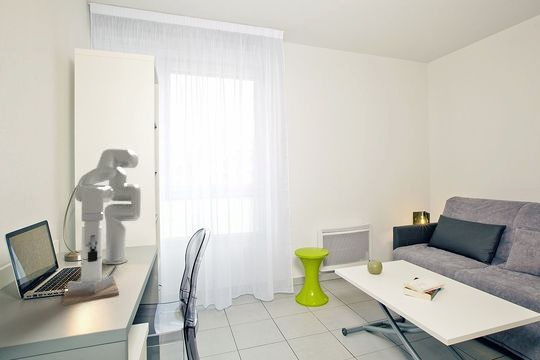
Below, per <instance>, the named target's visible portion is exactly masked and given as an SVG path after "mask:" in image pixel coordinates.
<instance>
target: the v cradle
mask: <svg viewBox="0 0 540 360" xmlns="http://www.w3.org/2000/svg"><path fill="white" fill-rule="evenodd" d="M65 286H67V287H68V291H66V292H64V291H63V306H67V305H71V304H72V305H73V304H78V303H83V302H90V301H92V300H93V301H94V300H99V299H104V298H109V297H115V296H119V295H120V291H119V288H118V286H117V284H116V280H115V278H114V275H113V274H110V275H107V276H105V277H103V278H102V277H101V280H99V281H96V282H94V283H84V282H81V281H76V280H75V281H72V280H70V281H68V282H67V283H65V284H64V287H65Z"/></svg>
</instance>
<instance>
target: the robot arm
mask: <svg viewBox="0 0 540 360" xmlns="http://www.w3.org/2000/svg"><path fill="white" fill-rule="evenodd" d="M100 155H101V156H100V158H99V160H98V163H97V166H96V168H93V169H92V170H89V171H87V172H86V173H85V174H83V175H82V176H81V177H80V178H79V180H78V182H77V184H76V187H75V190H74V197H75V200H76V201H77V202H79V203H81V222H84V225H83V227H84V229H85V230H84V246H85V247H86V246H87V245H89V252H88V262H94V261H97V245H98V244H99V228H100V226H101V225H100V223H101V221H103V220H104V218H105V258H103V259H102V264H103V265H107V264H115V265H120V264H124V263H127V262H128V261H129V257H128V256H126V236H127V235H126V233H127V232H126V230H127V229H126V226H125V225H124V223H122V222H136V221H138V220H139V219H140V217H141V201H142V200H141V198H142V196H141V194H142V193H141V187H140V186H139V185H138V184H133V183H129V184H128V183H127V173H126V171H124V169H123V168H125V169H129V168H130V169H135V168H136V167H137V166H138V164H139V157H138V154H137V153H136V152H134V151H133V150H130V149H122V148H121V149H120V148H119V149H117V148H107V149H105V150H103V151H102V153H101V154H100ZM107 181H108V185H103V184H100V185H99V183H104V182H107ZM110 201H113V202H130V203H111V204H108V205H107V206H106V207H105V208H104V203H109V202H110ZM90 241H91V244H90ZM95 241H96V244H95Z"/></svg>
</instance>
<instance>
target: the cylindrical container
mask: <svg viewBox="0 0 540 360" xmlns="http://www.w3.org/2000/svg"><path fill="white" fill-rule="evenodd" d="M84 230H85V229H84V226H82V227H81V259H80V261H81V263H80V265H81V266H80V268H81V269H80V282H84V283H94V282H96V281H99V280H101V279H102V271H103V270H102V264H103V263H102V260H103V225H100V228H99V244H98V245H97V261H94V262H88V252H89V245H87V246H86V247H85V246H84ZM90 244H91V241H90ZM95 244H96V241H95Z"/></svg>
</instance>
